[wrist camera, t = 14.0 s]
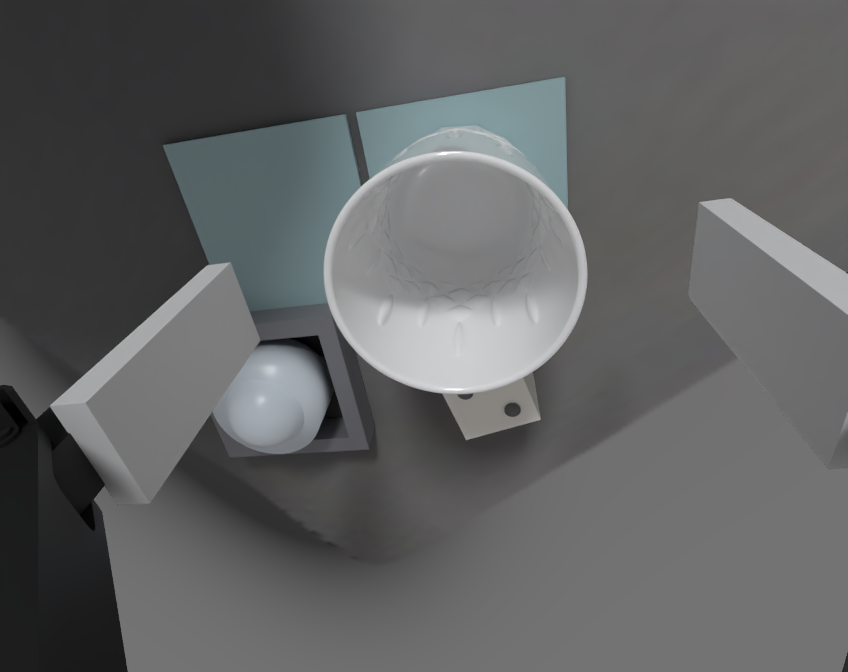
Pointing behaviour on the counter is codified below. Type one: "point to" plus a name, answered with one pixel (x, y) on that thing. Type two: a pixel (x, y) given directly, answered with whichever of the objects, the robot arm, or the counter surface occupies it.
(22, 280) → the counter surface
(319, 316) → the frame
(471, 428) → the die
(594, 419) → the counter surface
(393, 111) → the tile
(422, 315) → the white cup
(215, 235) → the tile
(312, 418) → the dome
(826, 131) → the counter surface
